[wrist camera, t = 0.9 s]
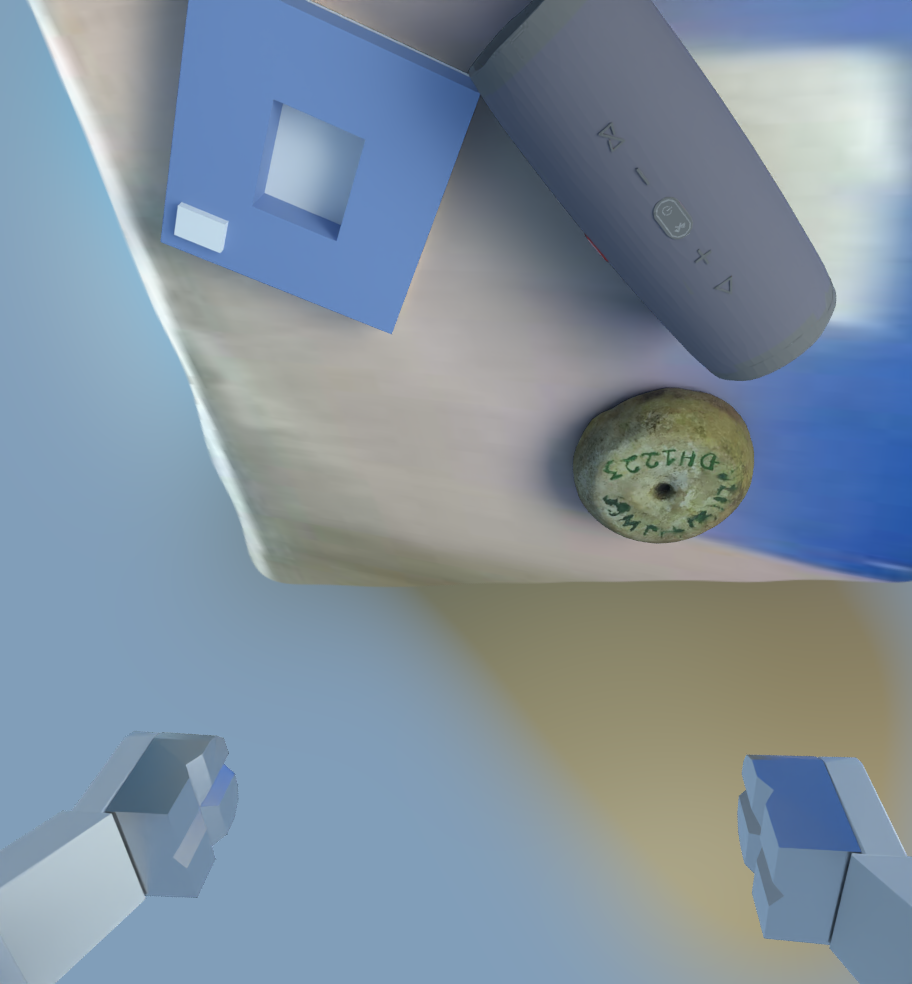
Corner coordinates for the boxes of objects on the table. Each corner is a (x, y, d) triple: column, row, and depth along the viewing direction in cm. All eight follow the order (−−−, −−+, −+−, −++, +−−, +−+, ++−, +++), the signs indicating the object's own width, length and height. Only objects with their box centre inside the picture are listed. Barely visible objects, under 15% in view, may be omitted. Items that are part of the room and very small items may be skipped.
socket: (214, -45, 40) (188, -39, 37) (484, 81, 42) (479, 96, 40) (178, 225, 50) (156, 245, 47) (398, 314, 52) (389, 338, 50)
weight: (557, 502, 62) (556, 543, 59) (596, 367, 54) (598, 404, 50) (713, 528, 62) (723, 571, 59) (778, 397, 54) (794, 437, 50)
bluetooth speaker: (468, 61, 42) (447, 103, 34) (601, -82, 37) (612, -69, 29) (690, 334, 51) (712, 415, 43) (819, 248, 46) (869, 322, 39)
